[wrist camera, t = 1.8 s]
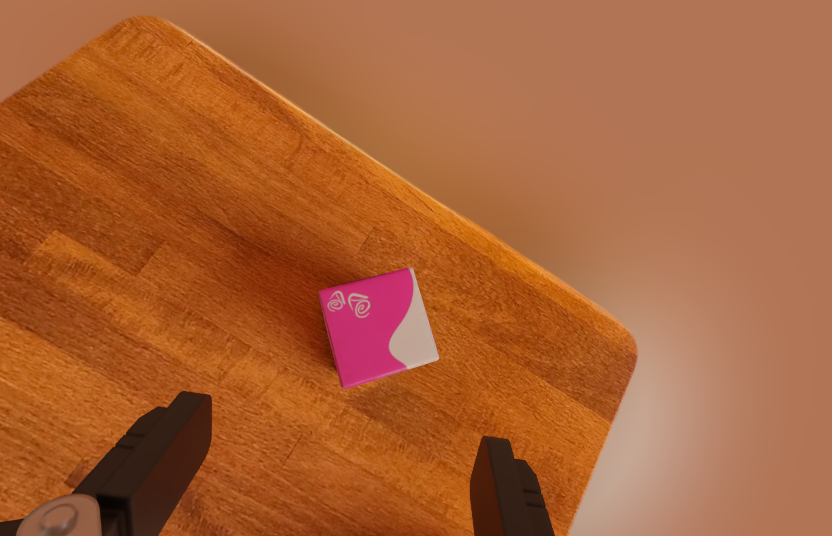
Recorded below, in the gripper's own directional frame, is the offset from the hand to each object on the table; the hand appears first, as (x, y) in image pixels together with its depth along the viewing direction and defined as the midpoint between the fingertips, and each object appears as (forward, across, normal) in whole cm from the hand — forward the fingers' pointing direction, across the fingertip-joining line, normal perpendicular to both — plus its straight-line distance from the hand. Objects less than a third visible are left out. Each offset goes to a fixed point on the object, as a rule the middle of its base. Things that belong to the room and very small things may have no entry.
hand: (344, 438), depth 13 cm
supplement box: (+21, +1, +8) cm, 23 cm away
